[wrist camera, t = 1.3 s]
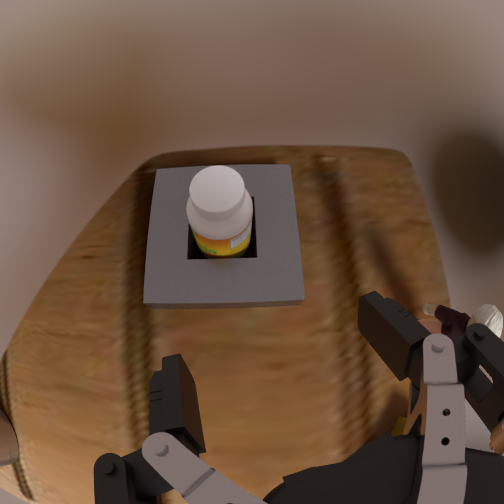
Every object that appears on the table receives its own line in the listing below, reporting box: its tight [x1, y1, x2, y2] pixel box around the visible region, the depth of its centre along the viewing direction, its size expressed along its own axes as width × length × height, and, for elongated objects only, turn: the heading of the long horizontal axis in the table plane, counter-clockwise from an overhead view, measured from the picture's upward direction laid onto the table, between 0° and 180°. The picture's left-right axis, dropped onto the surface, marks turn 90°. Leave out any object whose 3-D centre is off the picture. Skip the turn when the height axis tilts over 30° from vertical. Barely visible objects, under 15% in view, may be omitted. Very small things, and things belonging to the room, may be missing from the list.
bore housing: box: [143, 164, 305, 309], centre depth 27 cm, size 14×14×3 cm
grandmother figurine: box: [418, 303, 503, 338], centre depth 20 cm, size 8×4×13 cm, turn 57°
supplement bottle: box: [186, 165, 253, 259], centre depth 24 cm, size 5×5×10 cm
